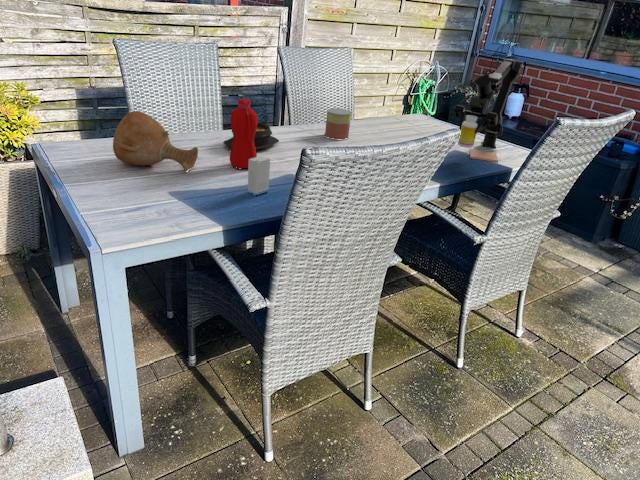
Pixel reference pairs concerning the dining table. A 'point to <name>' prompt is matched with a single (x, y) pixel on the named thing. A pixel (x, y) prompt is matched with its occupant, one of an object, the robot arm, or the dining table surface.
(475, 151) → the terracotta tile
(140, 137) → the jug
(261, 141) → the black hat
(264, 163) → the skincare box
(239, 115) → the water bottle
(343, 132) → the canned food
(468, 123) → the supplement bottle
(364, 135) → the dining table surface
